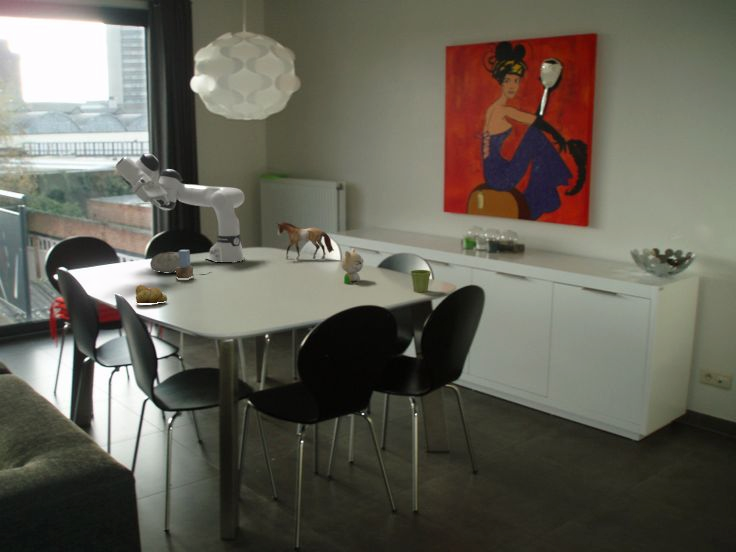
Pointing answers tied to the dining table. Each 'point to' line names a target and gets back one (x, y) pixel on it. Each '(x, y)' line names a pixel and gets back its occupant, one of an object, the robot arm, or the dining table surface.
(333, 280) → the dining table surface
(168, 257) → the decorative shell
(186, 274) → the walnut cube
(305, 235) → the horse figurine
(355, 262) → the kitten
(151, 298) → the bread roll
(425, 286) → the plant pot
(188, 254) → the blue brick
